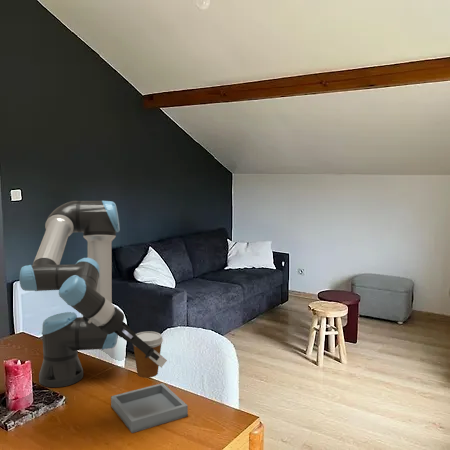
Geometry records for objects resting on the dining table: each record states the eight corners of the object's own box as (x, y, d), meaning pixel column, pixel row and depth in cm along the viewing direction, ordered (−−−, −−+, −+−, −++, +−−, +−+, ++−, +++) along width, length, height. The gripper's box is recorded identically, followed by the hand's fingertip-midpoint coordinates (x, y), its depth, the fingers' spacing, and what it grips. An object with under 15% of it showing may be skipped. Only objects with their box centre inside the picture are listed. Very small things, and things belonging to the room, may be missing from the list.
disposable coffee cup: (156, 381, 140) (156, 343, 139) (127, 378, 142) (126, 340, 141) (167, 368, 149) (167, 332, 148) (138, 365, 151) (138, 329, 150)
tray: (111, 406, 150) (111, 396, 150) (162, 392, 159) (162, 383, 159) (131, 433, 135) (131, 421, 134) (187, 416, 144) (187, 405, 144)
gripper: (86, 316, 145) (136, 356, 155) (109, 338, 126) (164, 381, 136) (103, 297, 147) (150, 337, 157) (128, 316, 129) (180, 360, 139)
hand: (157, 357), depth 147 cm, fingers closed on disposable coffee cup, 9 cm apart
